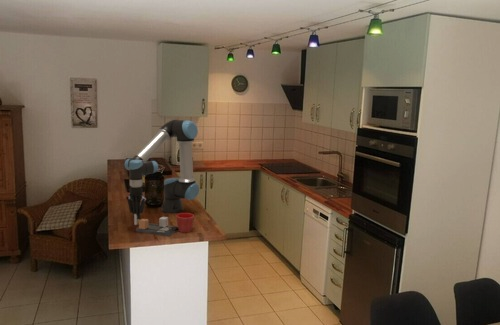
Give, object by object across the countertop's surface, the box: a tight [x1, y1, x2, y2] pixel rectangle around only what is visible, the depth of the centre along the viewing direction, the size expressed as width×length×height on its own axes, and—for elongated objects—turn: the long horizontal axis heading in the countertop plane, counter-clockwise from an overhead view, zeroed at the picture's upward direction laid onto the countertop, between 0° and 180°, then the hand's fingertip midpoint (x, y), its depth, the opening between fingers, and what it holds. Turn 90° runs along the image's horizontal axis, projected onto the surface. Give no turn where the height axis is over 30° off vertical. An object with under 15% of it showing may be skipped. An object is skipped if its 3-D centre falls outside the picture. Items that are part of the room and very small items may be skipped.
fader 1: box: [138, 218, 149, 229], centre depth 252 cm, size 4×4×5 cm
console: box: [135, 222, 179, 237], centre depth 254 cm, size 12×22×2 cm, turn 72°
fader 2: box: [158, 216, 169, 227], centre depth 256 cm, size 4×4×5 cm
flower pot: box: [175, 212, 195, 233], centre depth 255 cm, size 11×11×10 cm
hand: (136, 224), depth 253 cm, fingers closed
